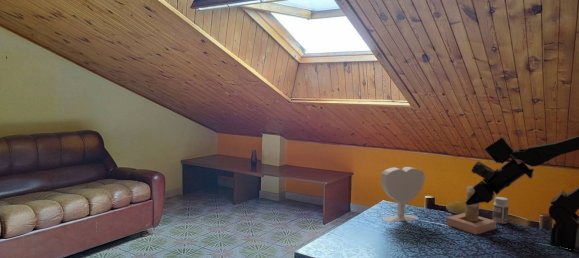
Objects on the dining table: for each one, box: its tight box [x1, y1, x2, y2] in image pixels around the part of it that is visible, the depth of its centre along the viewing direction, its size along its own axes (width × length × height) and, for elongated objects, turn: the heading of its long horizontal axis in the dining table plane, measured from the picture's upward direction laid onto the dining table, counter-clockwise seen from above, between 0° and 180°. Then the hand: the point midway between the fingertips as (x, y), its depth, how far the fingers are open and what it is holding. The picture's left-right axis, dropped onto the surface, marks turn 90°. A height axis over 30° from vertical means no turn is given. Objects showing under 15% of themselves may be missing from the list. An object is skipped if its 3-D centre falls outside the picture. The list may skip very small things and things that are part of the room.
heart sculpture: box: [380, 166, 426, 223], centre depth 146 cm, size 16×5×18 cm, turn 109°
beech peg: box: [465, 185, 480, 223], centre depth 139 cm, size 4×4×12 cm
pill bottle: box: [491, 196, 509, 224], centre depth 146 cm, size 5×5×8 cm
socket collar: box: [446, 213, 497, 235], centre depth 140 cm, size 11×11×2 cm
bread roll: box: [445, 200, 466, 215], centre depth 157 cm, size 8×9×4 cm
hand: (468, 202), depth 140 cm, fingers closed on beech peg, 4 cm apart
